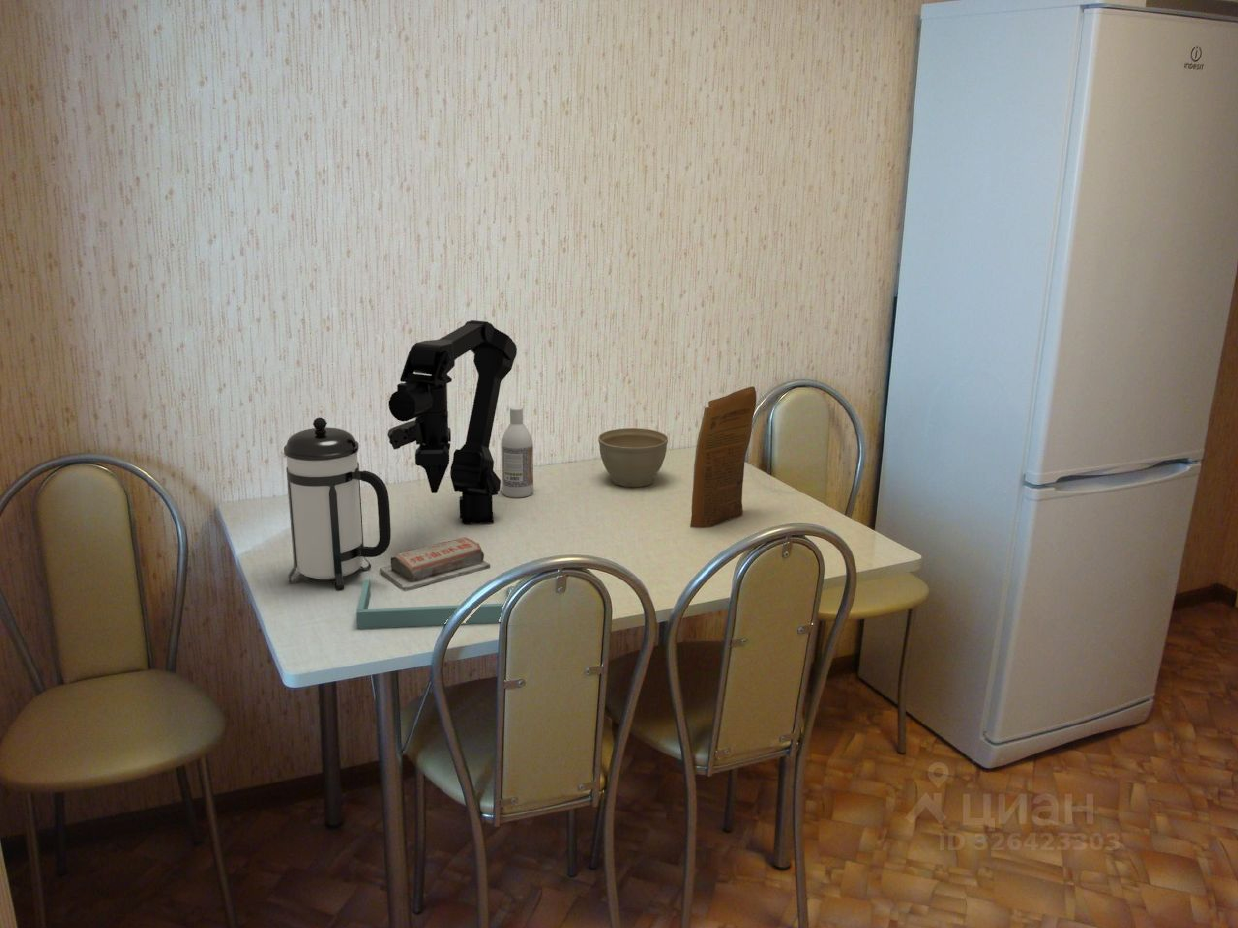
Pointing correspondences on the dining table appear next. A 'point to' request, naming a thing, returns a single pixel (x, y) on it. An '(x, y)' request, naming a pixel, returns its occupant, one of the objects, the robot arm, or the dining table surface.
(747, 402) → the pancake mix bag
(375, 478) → the coffee press
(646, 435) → the planter bowl
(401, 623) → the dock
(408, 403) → the robot arm
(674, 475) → the dining table surface
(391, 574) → the packaged product
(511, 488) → the bath foam
